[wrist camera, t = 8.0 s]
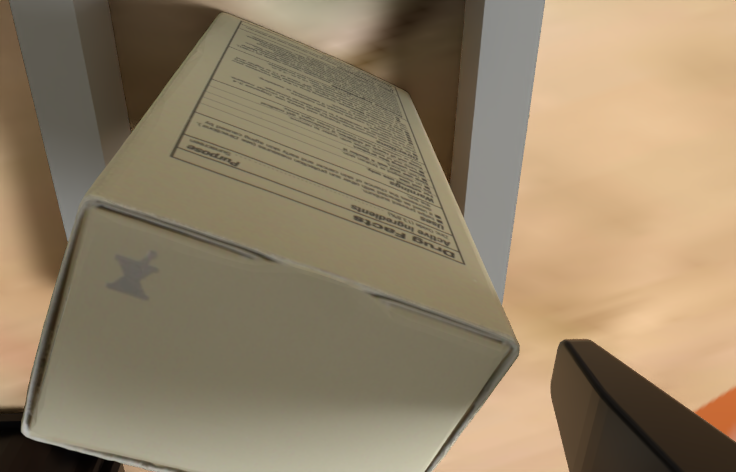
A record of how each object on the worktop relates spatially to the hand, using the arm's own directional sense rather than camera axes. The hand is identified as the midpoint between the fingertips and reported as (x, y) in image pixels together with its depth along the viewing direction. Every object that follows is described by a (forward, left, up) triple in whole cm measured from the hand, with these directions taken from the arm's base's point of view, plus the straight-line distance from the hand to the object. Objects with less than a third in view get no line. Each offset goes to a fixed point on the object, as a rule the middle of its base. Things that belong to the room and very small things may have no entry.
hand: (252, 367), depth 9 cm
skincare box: (0, 0, -12) cm, 12 cm away
